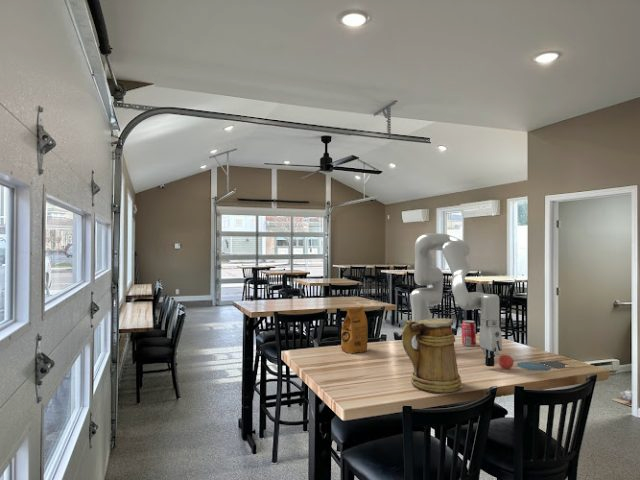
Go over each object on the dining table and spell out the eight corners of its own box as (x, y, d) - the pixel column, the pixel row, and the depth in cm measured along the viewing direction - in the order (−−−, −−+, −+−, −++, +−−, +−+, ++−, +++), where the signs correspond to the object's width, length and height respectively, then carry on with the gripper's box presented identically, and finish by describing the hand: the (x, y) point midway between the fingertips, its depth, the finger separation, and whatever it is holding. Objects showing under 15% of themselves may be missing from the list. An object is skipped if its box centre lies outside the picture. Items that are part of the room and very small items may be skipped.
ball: (513, 354, 183) (513, 368, 183) (498, 352, 186) (498, 366, 186) (513, 357, 178) (513, 371, 178) (498, 355, 180) (497, 369, 180)
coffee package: (338, 350, 211) (338, 306, 212) (357, 347, 218) (357, 304, 219) (350, 354, 203) (351, 309, 203) (370, 351, 210) (370, 307, 211)
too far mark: (555, 368, 182) (555, 368, 182) (538, 362, 192) (538, 361, 192) (574, 367, 185) (574, 366, 185) (556, 361, 195) (556, 360, 195)
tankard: (472, 390, 153) (472, 322, 154) (416, 397, 146) (416, 325, 146) (442, 376, 171) (442, 314, 171) (391, 381, 163) (391, 317, 163)
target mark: (512, 366, 186) (512, 365, 186) (523, 360, 195) (523, 360, 195) (544, 372, 177) (544, 372, 177) (554, 366, 185) (554, 366, 185)
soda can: (477, 347, 221) (477, 322, 221) (462, 346, 222) (462, 321, 222) (474, 344, 228) (474, 320, 228) (460, 343, 229) (461, 319, 229)
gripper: (509, 325, 174) (509, 370, 174) (486, 319, 189) (486, 360, 189) (493, 326, 173) (493, 371, 172) (471, 320, 187) (471, 361, 187)
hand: (489, 365), depth 180 cm, fingers closed
